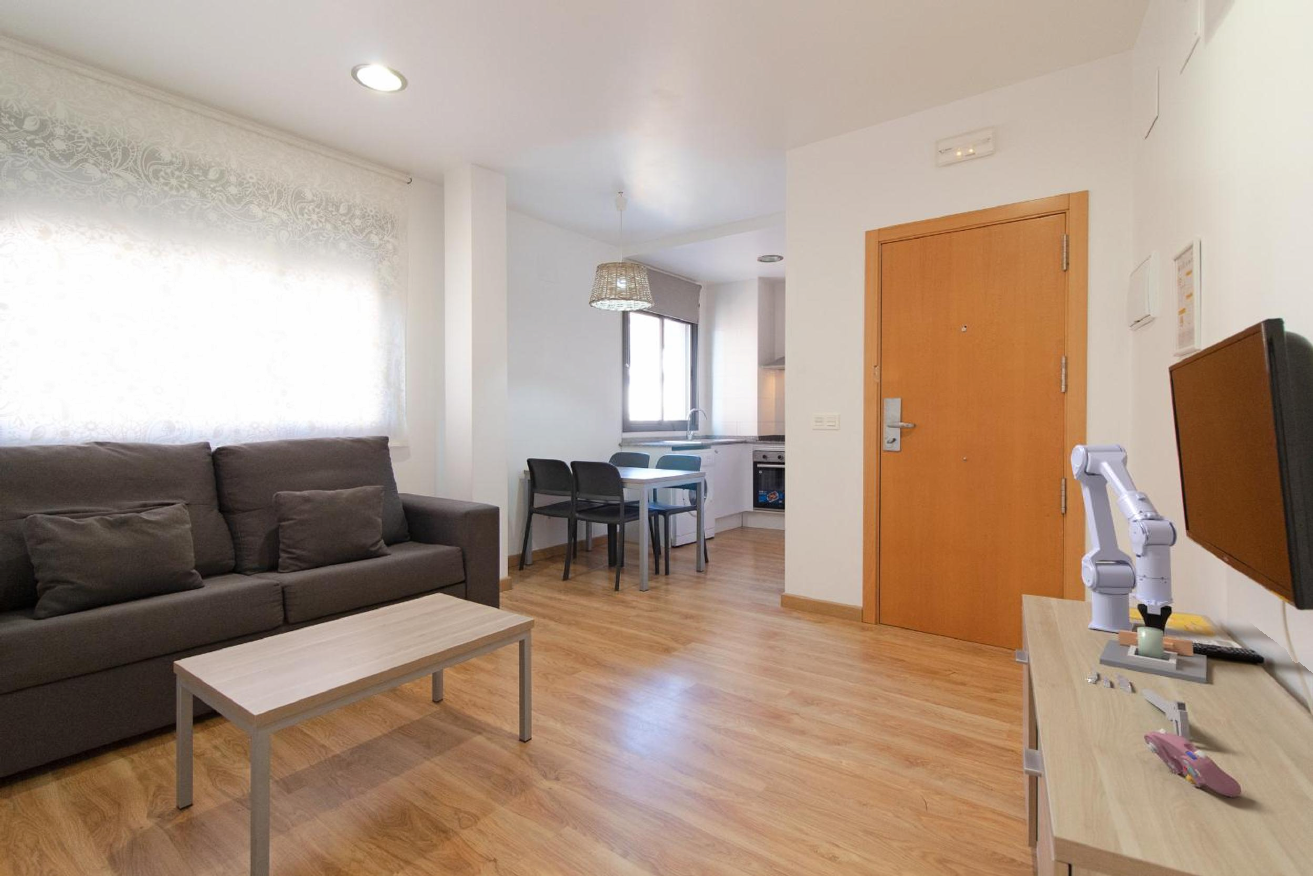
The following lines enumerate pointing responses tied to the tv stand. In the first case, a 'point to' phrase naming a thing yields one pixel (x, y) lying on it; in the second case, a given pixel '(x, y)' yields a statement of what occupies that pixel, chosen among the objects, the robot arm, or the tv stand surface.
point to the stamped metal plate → (1122, 681)
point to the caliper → (1171, 712)
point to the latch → (1169, 643)
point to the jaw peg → (1150, 642)
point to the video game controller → (1191, 762)
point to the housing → (1156, 662)
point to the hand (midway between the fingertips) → (1155, 640)
